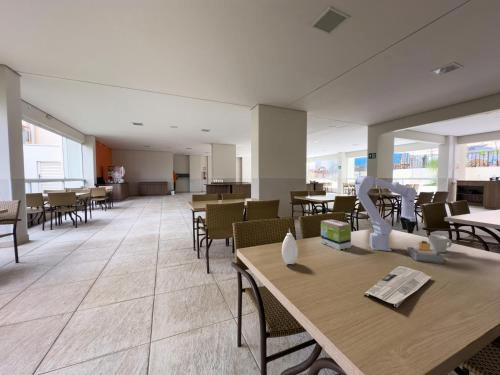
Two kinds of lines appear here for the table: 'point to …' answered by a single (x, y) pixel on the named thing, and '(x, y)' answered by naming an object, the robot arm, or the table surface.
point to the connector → (424, 246)
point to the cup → (439, 243)
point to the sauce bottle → (289, 249)
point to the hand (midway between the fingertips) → (407, 231)
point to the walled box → (425, 255)
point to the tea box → (336, 234)
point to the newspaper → (398, 285)
